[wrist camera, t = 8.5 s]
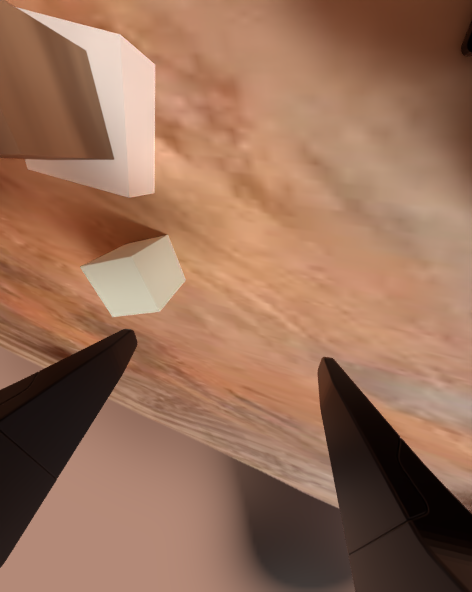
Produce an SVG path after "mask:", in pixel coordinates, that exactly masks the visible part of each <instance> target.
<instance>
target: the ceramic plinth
mask: <svg viewBox="0 0 472 592" xmlns="http://www.w3.org/2000/svg"><path fill="white" fill-rule="evenodd" d="M16 8H17V7H16ZM18 9H20V10H21V11H23V12H24V13H26V14H28V15H29V16H31V17H33V18H34V19H36V20H37V21H39V22H41V23H42V24H44V25H46V26H47V27H49V28H50V29H52V30H54V31H55V32H57V33H59V34H60V35H62V36H63V37H65V38H67V39H68V40H70V41H71V42H73V43H75V44H76V45H78V46H80V47H81V48H83V49H84V50H86V52H87V55H88V59H89V63H90V67H91V71H92V75H93V79H94V82H95V86H96V90H97V94H98V98H99V102H100V106H101V110H102V113H103V117H104V121H105V125H106V129H107V133H108V137H109V140H110V144H111V148H112V152H113V156H114V160H36V159H25V162H26V165H27V169H28V170H32V171H35V172H39V173H43V174H46V175H50V176H53V177H57V178H60V179H64V180H68V181H71V182H75V183H78V184H82V185H85V186H89V187H93V188H96V189H100V190H103V191H107V192H110V193H114V194H118V195H121V196H125V197H128V198H132V197H137V196H142V195H147V194H152V193H155V64H154V63H153V62H152V61H150V60H149V59H148V58H147V57H146V56H145V55H143V54H142V53H141V52H140V51H139V50H138V49H136V48H135V47H134V46H133V45H132V44H131V43H129V42H128V41H127V40H126V39H125V38H124V37H122V36H121V35H120V34H116V33H112V32H108V31H105V30H101V29H97V28H93V27H89V26H86V25H82V24H78V23H74V22H70V21H66V20H63V19H59V18H55V17H51V16H47V15H44V14H40V13H36V12H32V11H28V10H24V9H21V8H18Z"/></svg>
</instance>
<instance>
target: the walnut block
mask: <svg viewBox="0 0 472 592" xmlns="http://www.w3.org/2000/svg"><path fill="white" fill-rule="evenodd" d="M0 158H12V159H36V160H114V156H113V152H112V148H111V144H110V140H109V137H108V133H107V129H106V125H105V121H104V117H103V113H102V110H101V106H100V102H99V98H98V94H97V90H96V86H95V82H94V79H93V75H92V71H91V67H90V63H89V59H88V55H87V52H86V50H84V49H83V48H81V47H80V46H78V45H76V44H75V43H73V42H71V41H70V40H68V39H67V38H65V37H63V36H62V35H60V34H59V33H57V32H55V31H54V30H52V29H50V28H49V27H47V26H46V25H44V24H42V23H41V22H39V21H37V20H36V19H34V18H33V17H31V16H29V15H28V14H26V13H24V12H23V11H21V10H20V9H18V8H16V7H15V6H13V5H12V4H10V3H8V2H7V1H5V0H0Z"/></svg>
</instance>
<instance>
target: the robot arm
mask: <svg viewBox="0 0 472 592" xmlns="http://www.w3.org/2000/svg"><path fill="white" fill-rule="evenodd" d="M461 49H462V53H463V55H464V56H472V22H471V24H470V27H469V29H468V32H467V34H466V36H465V39H464V41H463V44H462V48H461ZM136 347H137V339H136V336H135V333H134V331H133V330H131V329H123V330H121V331H119V332H117V333H115V334H113V335H111V336H109V337H107V338H105V339H103V340H101V341H99V342H97V343H95V344H93V345H91V346H89V347H87V348H85V349H83V350H81V351H79V352H77V353H75V354H73V355H71V356H69V357H67V358H65V359H63V360H61V361H59V362H57V363H55V364H53V365H51V366H49V367H47V368H45V369H43V370H41V371H40V372H37V373H35V374H33V375H31V376H29V377H27V378H25V379H22V380H21V381H18V382H16V383H14V384H12V385H10V386H8V387H6V388H3V389H1V390H0V568H1V566H2V565H3V564H4V562H5V561H6V560H7V558H8V556H9V555H10V553H11V552H12V550H13V549H14V547H15V545H16V543H17V542H18V541H19V539H20V537H21V536H22V534H23V533H24V531H25V529H26V528H27V526H28V524H29V523H30V521H31V520H32V518H33V517H34V515H35V513H36V512H37V510H38V509H39V507H40V505H41V504H42V502H43V501H44V499H45V498H46V496H47V494H48V493H49V491H50V490H51V488H52V486H53V485H54V483H55V482H56V480H57V478H58V477H59V475H60V473H61V472H62V470H63V469H64V467H65V465H66V464H67V462H68V461H69V459H70V458H71V456H72V454H73V452H74V451H75V449H76V448H77V446H78V445H79V443H80V441H81V440H82V438H83V437H84V435H85V434H86V432H87V430H88V429H89V427H90V426H91V424H92V422H93V421H94V419H95V418H96V416H97V414H98V413H99V411H100V410H101V408H102V407H103V405H104V403H105V402H106V400H107V399H108V397H109V395H110V394H111V392H112V391H113V389H114V387H115V386H116V384H117V383H118V381H119V379H120V378H121V376H122V374H123V373H124V371H125V369H126V367H127V365H128V363H129V361H130V359H131V357H132V355H133V353H134V351H135V349H136ZM318 385H319V398H320V409H321V415H322V420H323V425H324V430H325V436H326V441H327V446H328V451H329V456H330V462H331V467H332V472H333V477H334V482H335V488H336V493H337V498H338V503H339V508H340V514H341V519H342V524H343V529H344V534H345V540H346V544H347V550H348V553H349V561H350V566H351V571H352V577H353V581H354V587H355V592H472V514H471V513H470V512H469V511H468V510H467V508H466V507H465V506H464V505H463V504H462V503H461V502H460V501H459V500H458V499H457V498H456V497H455V496H454V495H453V494H452V493H451V492H450V491H449V490H448V489H447V488H446V487H445V486H444V485H443V484H442V483H441V481H440V480H439V479H438V478H437V477H436V476H435V475H434V474H433V473H432V472H431V471H430V470H429V469H428V468H427V467H426V465H425V464H424V463H423V462H422V461H421V460H420V459H419V458H418V456H417V455H416V454H415V453H414V452H413V451H412V450H411V448H410V447H409V446H408V445H407V444H406V443H405V441H404V440H403V439H402V438H400V436H399V435H398V433H397V432H396V431H395V430H394V429H393V428H392V426H391V425H390V424H389V423H388V422H387V421H386V419H385V418H384V417H383V416H382V415H381V414H380V412H379V411H378V410H377V409H376V408H375V407H374V405H373V404H372V403H371V402H370V401H369V400H368V398H367V397H366V396H365V395H364V394H363V393H362V391H361V390H360V389H359V388H358V387H357V386H356V384H355V383H354V382H353V381H352V380H351V379H350V377H349V376H348V375H347V374H346V373H345V372H344V370H343V369H342V368H341V367H340V366H339V365H338V363H337V362H336V361H335V360H334V359H333V358H329V357H323V358H322V359H321V362H320V365H319V368H318Z"/></svg>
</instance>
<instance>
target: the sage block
mask: <svg viewBox="0 0 472 592" xmlns="http://www.w3.org/2000/svg"><path fill="white" fill-rule="evenodd" d="M80 268H81V269H82V271H83V272H84V274H85V275H86V277H87V279H88V280H89V282H90V283H91V285H92V286H93V288H94V289H95V291H96V292H97V294H98V295H99V297H100V298H101V300H102V302H103V303H104V305H105V306H106V308H107V309H108V311H109V312H110V314H111V315H112V317H117V316H126V315H135V314H144V313H153V312H160V311H161V309H162V308H163V307H164V306H165V305H166V303H167V302H168V301H169V300H170V299H171V297H172V296H173V295H174V294H175V293H176V291H177V290H178V289H179V288H180V286H181V285H182V284H183V283H184V282H185V280H186V279H185V277H184V274H183V271H182V269H181V266H180V264H179V261H178V259H177V256H176V254H175V251H174V249H173V246H172V244H171V241H170V239H169V236H168V235H164V236H159V237H155V238H150V239H146V240H142V241H137V242H133V243H128V244H125V245H123V246H121V247H119V248H117V249H115V250H113V251H111V252H109V253H107V254H105V255H103V256H101V257H99V258H97V259H95V260H93V261H91V262H89V263H87V264H85V265H83V266H80Z"/></svg>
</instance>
